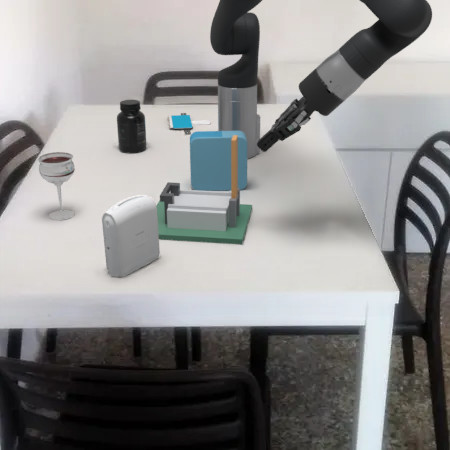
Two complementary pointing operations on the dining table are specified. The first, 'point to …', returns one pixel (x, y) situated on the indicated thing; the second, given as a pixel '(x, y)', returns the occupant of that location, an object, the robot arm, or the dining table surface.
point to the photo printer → (130, 234)
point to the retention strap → (234, 167)
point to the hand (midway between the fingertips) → (260, 147)
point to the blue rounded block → (216, 160)
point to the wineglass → (57, 176)
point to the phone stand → (184, 122)
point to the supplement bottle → (131, 127)
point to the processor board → (204, 234)
